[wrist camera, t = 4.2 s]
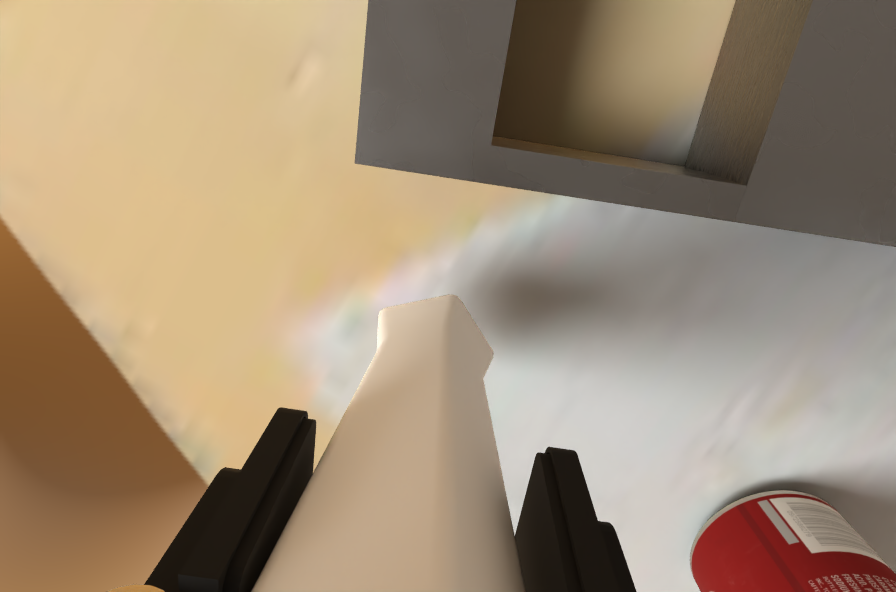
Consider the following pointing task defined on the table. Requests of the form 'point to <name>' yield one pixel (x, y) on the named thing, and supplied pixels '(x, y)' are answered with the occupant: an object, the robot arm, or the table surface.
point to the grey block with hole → (717, 134)
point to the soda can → (785, 549)
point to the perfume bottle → (407, 473)
